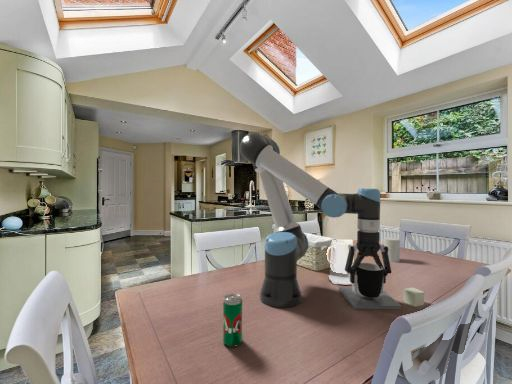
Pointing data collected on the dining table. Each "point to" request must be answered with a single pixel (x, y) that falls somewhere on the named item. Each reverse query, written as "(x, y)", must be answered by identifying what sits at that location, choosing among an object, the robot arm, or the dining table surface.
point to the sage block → (413, 296)
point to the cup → (393, 248)
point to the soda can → (232, 320)
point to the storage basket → (316, 253)
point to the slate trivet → (369, 300)
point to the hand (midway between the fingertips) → (367, 291)
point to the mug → (369, 279)
